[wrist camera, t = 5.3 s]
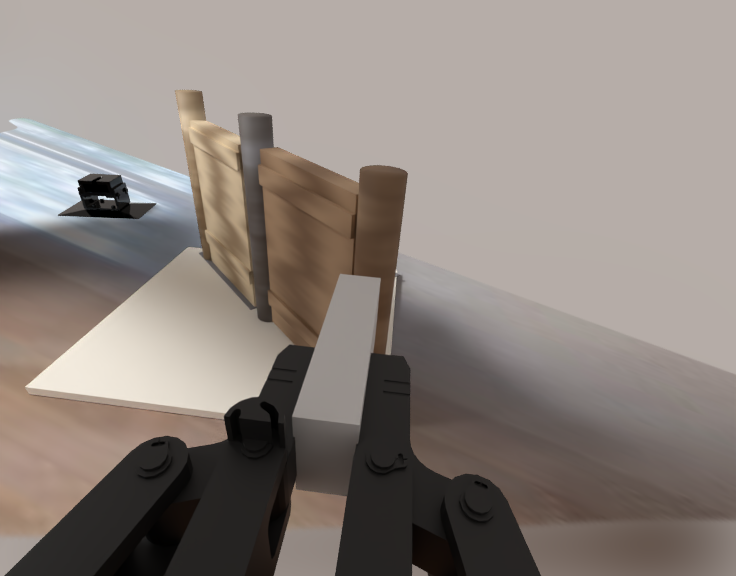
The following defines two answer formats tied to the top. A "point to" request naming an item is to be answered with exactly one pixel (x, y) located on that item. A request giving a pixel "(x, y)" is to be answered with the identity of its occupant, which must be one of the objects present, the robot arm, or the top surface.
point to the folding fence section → (327, 238)
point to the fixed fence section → (229, 195)
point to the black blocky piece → (106, 208)
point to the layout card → (174, 347)
